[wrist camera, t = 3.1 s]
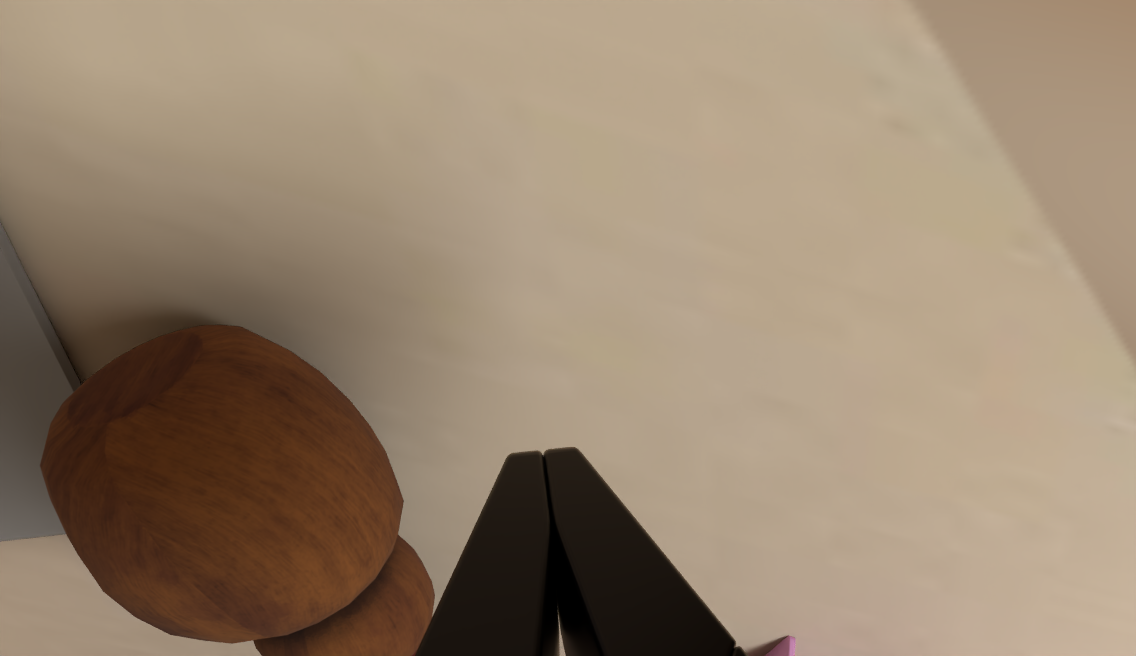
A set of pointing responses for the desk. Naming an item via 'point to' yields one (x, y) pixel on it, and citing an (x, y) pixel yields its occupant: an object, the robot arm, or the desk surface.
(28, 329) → the mat
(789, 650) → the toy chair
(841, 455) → the desk surface
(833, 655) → the desk surface
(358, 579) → the wooden figurine
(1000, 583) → the desk surface
